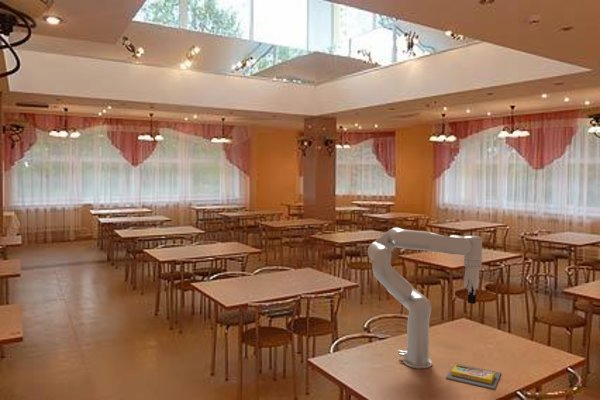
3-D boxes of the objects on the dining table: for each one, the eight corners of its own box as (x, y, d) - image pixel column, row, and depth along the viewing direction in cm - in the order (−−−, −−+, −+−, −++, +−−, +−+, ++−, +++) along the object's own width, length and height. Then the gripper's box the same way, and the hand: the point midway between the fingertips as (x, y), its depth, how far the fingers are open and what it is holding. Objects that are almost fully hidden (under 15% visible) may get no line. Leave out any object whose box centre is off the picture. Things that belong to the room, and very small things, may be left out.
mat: (445, 378, 195) (445, 377, 195) (455, 364, 210) (455, 363, 210) (494, 389, 185) (494, 388, 185) (500, 374, 200) (500, 372, 200)
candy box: (495, 371, 196) (491, 379, 189) (495, 376, 196) (491, 384, 189) (455, 363, 204) (450, 370, 197) (455, 367, 204) (450, 375, 197)
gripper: (467, 259, 219) (466, 298, 220) (460, 265, 207) (459, 305, 208) (484, 261, 215) (483, 300, 217) (478, 266, 203) (477, 308, 204)
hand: (471, 302), depth 212 cm, fingers closed
